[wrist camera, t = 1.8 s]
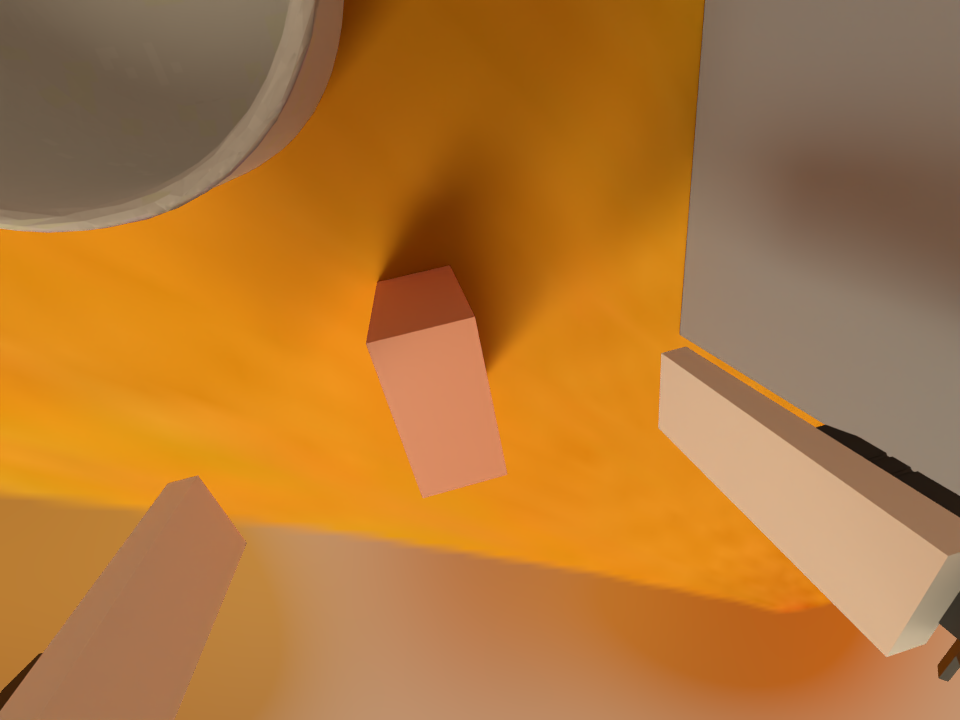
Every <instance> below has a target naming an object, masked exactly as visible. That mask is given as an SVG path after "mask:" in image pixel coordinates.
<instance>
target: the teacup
mask: <svg viewBox="0 0 960 720" xmlns="http://www.w3.org/2000/svg"><path fill="white" fill-rule="evenodd" d="M343 8H344V0H0V228H1V229H8V230H16V231H33V232H65V231H84V230H93V229H101V228H108V227H112V226H117V225H122V224H127V223H131V222H136V221H141V220H146V219H149V218H152V217H155V216H157V215H160V214H162V213H165V212H167V211H170V210H173V209H176V208H179V207H180V206H182V205H184V204H186V203H188V202H190V201H191V200H193V199H195V198H197V197H199V196H200V195H202V194H204V193H206V192H208V191H209V190H210V189H212V188H213V187H216V186H219V185H221V184H223V183H225V182H227V181H230V180H232V179H234V178H236V177H239V176H241V175H243V174H245V173H247V172H249V171H251V170H253V169H255V168H256V167H258V166H260V165H261V164H263V163H264V162H266V161H267V160H268V159H270V158H271V157H273V156H274V155H275V154H277V153H278V152H279V151H281V150H282V149H283V148H285V147H286V146H287V145H288V144H289V143H290V142H291V141H292V140H293V139H294V138H295V137H296V136H297V134H298V133H299V132H300V130H301V129H302V128H303V126H304V125H305V124H306V122H307V121H308V120H309V118H310V117H311V116H312V114H313V113H314V111H315V109H316V107H317V105H318V103H319V101H320V99H321V97H322V95H323V93H324V91H325V89H326V86H327V84H328V81H329V78H330V76H331V73H332V70H333V66H334V62H335V58H336V55H337V51H338V45H339V40H340V34H341V28H342V19H343Z"/></svg>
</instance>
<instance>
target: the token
mask: <svg viewBox="0 0 960 720" xmlns="http://www.w3.org/2000/svg"><path fill="white" fill-rule="evenodd" d="M366 345H367V348H368V350H369V353H370V356H371V359H372V361H373V364H374V367H375V369H376V372H377V375H378V378H379V380H380V383H381V386H382V388H383V391H384V394H385V397H386V399H387V402H388V405H389V408H390V410H391V413H392V416H393V418H394V421H395V424H396V427H397V429H398V432H399V435H400V437H401V440H402V443H403V446H404V448H405V451H406V454H407V457H408V459H409V462H410V465H411V467H412V470H413V473H414V476H415V478H416V481H417V484H418V486H419V489H420V492H421V495H422V497H423V498H425V497H429V496H432V495H436V494H439V493H443V492H447V491H450V490H454V489H457V488H461V487H464V486H468V485H472V484H475V483H479V482H482V481H486V480H490V479H493V478H497V477H500V476H504V475H507V470H506V466H505V461H504V456H503V451H502V446H501V441H500V436H499V432H498V427H497V422H496V417H495V412H494V407H493V402H492V397H491V393H490V388H489V383H488V378H487V373H486V368H485V363H484V358H483V354H482V349H481V344H480V339H479V334H478V329H477V324H476V320H475V316H474V314H473V312H472V310H471V308H470V306H469V304H468V301H467V299H466V297H465V295H464V293H463V291H462V289H461V287H460V285H459V283H458V281H457V279H456V277H455V275H454V273H453V271H452V269H451V266H450V265H448V266H444V267H440V268H435V269H431V270H427V271H423V272H418V273H414V274H410V275H405V276H401V277H397V278H393V279H388V280H384V281H380V282H377V286H376V291H375V297H374V302H373V308H372V313H371V319H370V324H369V330H368V335H367V341H366Z"/></svg>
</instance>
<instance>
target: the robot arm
mask: <svg viewBox="0 0 960 720" xmlns="http://www.w3.org/2000/svg"><path fill="white" fill-rule="evenodd" d="M658 428H659V429H660V430H661V431H662V432H663V433H664V434H665V435H666V436H667V437H668V438H669V439H670V440H671V441H672V442H673V443H674V444H675V445H676V446H677V447H678V448H679V449H680V450H681V451H682V452H683V453H684V454H685V455H686V456H687V457H688V458H689V459H690V460H691V461H692V462H693V463H694V464H695V465H696V466H697V467H698V468H699V469H700V470H701V471H702V472H703V473H704V474H705V475H706V476H707V477H708V478H709V479H710V480H711V481H712V482H713V483H714V484H715V485H716V486H717V487H718V488H719V489H720V490H721V491H722V492H723V493H724V494H725V495H726V496H727V497H728V498H729V499H730V500H731V501H732V502H733V503H734V504H735V505H736V506H737V507H738V508H739V509H740V510H741V511H742V512H743V513H744V514H745V515H746V516H747V517H748V518H749V519H750V520H751V521H752V522H753V523H754V524H755V525H756V526H757V527H758V528H759V529H760V530H761V531H762V532H763V533H764V534H765V535H766V536H767V537H768V538H769V539H770V540H771V541H772V542H773V543H774V544H775V545H776V546H777V547H778V548H779V549H780V550H781V551H782V552H783V553H784V554H785V555H786V556H787V557H788V558H789V559H790V560H791V561H792V563H793V564H794V565H795V566H796V567H797V568H798V569H799V570H800V571H801V572H802V573H803V574H804V575H805V576H806V577H807V578H808V579H809V580H810V581H811V582H812V583H813V584H814V585H815V586H816V587H817V588H818V589H819V590H820V591H821V592H822V593H823V594H824V595H825V596H826V597H827V598H828V599H829V600H830V601H831V602H832V603H833V604H834V605H835V606H836V607H837V608H838V609H839V610H840V611H841V612H842V613H843V614H844V615H845V616H846V617H847V618H848V619H849V620H850V621H851V622H852V623H853V624H854V625H855V626H856V627H857V628H858V629H859V630H860V631H861V632H862V633H863V634H864V635H865V636H866V637H867V638H868V639H869V640H870V641H871V642H872V643H873V644H874V645H875V646H876V647H877V648H878V649H879V650H880V651H881V652H882V653H883V654H884V655H885V656H886V657H888V656H891V655H894V654H897V653H900V652H903V651H905V650H909V649H911V648H914V647H917V646H920V645H923V644H926V642H927V641H928V640H929V638H930V637H931V635H932V634H933V632H934V631H935V629H936V628H937V626H938V625H939V624H941V625H942V626H943V627H944V628H945V629H946V630H948V631H949V632H950V633H951V634H953V635H954V636H955V637H956V638H957V640H956V642H955V643H954V644H953V645H952V647H951V648H950V649H949V651H948V652H947V653H946V655H945V656H944V657H943V659H942V660H941V661H940V663H939V664H938V676H939V678H940V679H942V680H945V681H949V680H950V679H951V678H952V676H953V675H954V674H955V673H956V671H957V670H958V669H959V668H960V496H959V495H958V494H956V493H954V492H952V491H951V490H949V489H947V488H946V487H944V486H942V485H941V484H939V483H937V482H935V481H934V480H932V479H930V478H929V477H927V476H925V475H923V474H922V473H920V472H918V471H916V472H914V471H913V470H912V469H911V467H910V466H908V465H906V464H905V463H903V462H901V461H900V460H898V459H896V458H894V457H893V456H892V457H889V456H887V453H886V452H884V451H882V450H881V449H879V448H877V447H876V446H874V445H872V444H870V443H869V442H867V441H865V440H864V439H862V438H860V437H858V436H856V435H853V434H850V433H848V432H845V431H842V430H839V429H837V428H834V427H831V426H828V425H823V426H820V427H816V428H815V427H814V426H812V425H811V424H809V423H807V422H806V421H804V420H803V419H801V418H799V417H798V416H796V415H795V414H793V413H791V412H790V411H788V410H787V409H785V408H783V407H782V406H780V405H779V404H777V403H775V402H774V401H772V400H771V399H769V398H767V397H766V396H764V395H762V394H761V393H759V392H758V391H756V390H754V389H753V388H751V387H750V386H748V385H746V384H745V383H743V382H742V381H740V380H738V379H737V378H735V377H734V376H732V375H730V374H729V373H727V372H726V371H724V370H722V369H721V368H719V367H718V366H716V365H714V364H713V363H711V362H710V361H708V360H706V359H705V358H703V357H702V356H700V355H698V354H697V353H695V352H694V351H692V350H690V349H689V348H687V347H683V348H679V349H675V350H672V351H668V352H664V353H661V378H660V402H659V427H658ZM245 546H246V541H245V540H244V539H243V537H242V536H241V535H240V533H239V532H238V530H237V529H236V527H235V526H234V525H233V523H232V522H231V521H230V519H229V518H228V516H227V515H226V514H225V512H224V511H223V510H222V508H221V507H220V505H219V504H218V503H217V501H216V500H215V498H214V497H213V496H212V494H211V493H210V492H209V490H208V489H207V487H206V486H205V485H204V483H203V482H202V481H201V479H200V478H199V476H194V477H191V478H187V479H183V480H179V481H175V482H172V483H168V484H167V485H166V487H165V488H164V490H163V491H162V492H161V494H160V495H159V496H158V498H157V499H156V500H155V502H154V503H153V504H152V506H151V507H150V509H149V510H148V511H147V513H146V514H145V515H144V517H143V518H142V519H141V521H140V522H139V523H138V525H137V526H136V528H135V529H134V530H133V532H132V533H131V534H130V536H129V537H128V538H127V540H126V541H125V542H124V544H123V545H122V547H121V548H120V549H119V551H118V552H117V553H116V555H115V556H114V557H113V559H112V560H111V561H110V563H109V564H108V566H107V567H106V568H105V570H104V571H103V572H102V574H101V575H100V576H99V578H98V579H97V580H96V582H95V583H94V585H93V586H92V587H91V589H90V590H89V591H88V593H87V594H86V595H85V597H84V598H83V599H82V601H81V602H80V604H79V605H78V606H77V608H76V609H75V610H74V612H73V613H72V614H71V616H70V617H69V619H68V620H67V621H66V622H65V624H64V625H63V627H62V628H61V629H60V631H59V632H58V633H57V635H56V636H55V637H54V639H53V640H52V641H51V643H50V644H49V646H48V647H47V648H46V650H45V651H44V652H43V653H41V654H38V655H37V656H36V657H35V658H34V659H33V660H32V661H31V662H30V663H29V664H28V665H27V666H26V667H25V668H24V669H23V670H22V671H21V672H20V673H19V674H18V675H17V676H16V677H15V678H14V679H13V680H12V681H11V682H10V683H9V684H8V685H7V686H6V687H5V688H4V689H3V690H2V691H1V693H0V720H174V719H175V717H176V714H177V712H178V709H179V707H180V704H181V702H182V699H183V697H184V695H185V692H186V690H187V687H188V685H189V682H190V680H191V677H192V675H193V673H194V670H195V668H196V665H197V663H198V660H199V658H200V655H201V653H202V651H203V648H204V646H205V643H206V641H207V639H208V636H209V633H210V631H211V628H212V626H213V624H214V622H215V619H216V617H217V614H218V612H219V609H220V607H221V604H222V602H223V600H224V597H225V595H226V592H227V590H228V587H229V585H230V582H231V580H232V578H233V575H234V573H235V570H236V568H237V565H238V563H239V561H240V558H241V556H242V553H243V551H244V548H245Z"/></svg>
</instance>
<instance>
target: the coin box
mask: <svg viewBox="0 0 960 720" xmlns="http://www.w3.org/2000/svg"><path fill="white" fill-rule="evenodd" d="M680 335H681V336H683V337H685V338H686V339H688V340H689V341H691V342H693V343H694V344H696V345H697V346H699V347H701V348H702V349H704V350H706V351H707V352H709V353H710V354H712V355H714V356H715V357H717V358H718V359H720V360H722V361H723V362H725V363H727V364H728V365H730V366H731V367H733V368H735V369H736V370H738V371H739V372H741V373H743V374H744V375H746V376H748V377H749V378H751V379H752V380H754V381H756V382H757V383H759V384H760V385H762V386H764V387H765V388H767V389H769V390H770V391H772V392H773V393H775V394H777V395H778V396H780V397H781V398H783V399H785V400H786V401H788V402H790V403H791V404H793V405H794V406H796V407H798V408H799V409H801V410H802V411H804V412H806V413H807V414H809V415H810V416H812V417H814V418H815V419H817V420H819V421H820V422H822V423H823V424H825V425H828V426H831V427H834V428H837V429H839V430H842V431H845V432H848V433H850V434H853V435H856V436H858V437H860V438H862V439H864V440H865V441H867V442H869V443H870V444H872V445H874V446H876V447H877V448H879V449H881V450H882V451H884V452H886V453H887V456H889V457H892V456H893V457H894V458H896V459H898V460H900V461H901V462H903V463H905V464H906V465H908V466H910V467H911V469H912V470H913V471H914V472H916V471H918V472H920V473H922V474H923V475H925V476H927V477H929V478H930V479H932V480H934V481H935V482H937V483H939V484H941V485H942V486H944V487H946V488H947V489H949V490H951V491H952V492H954V493H956V494H958V495H959V496H960V0H705V9H704V23H703V36H702V49H701V62H700V75H699V88H698V101H697V114H696V128H695V141H694V154H693V167H692V180H691V193H690V206H689V219H688V233H687V246H686V259H685V272H684V285H683V298H682V311H681V324H680Z"/></svg>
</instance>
